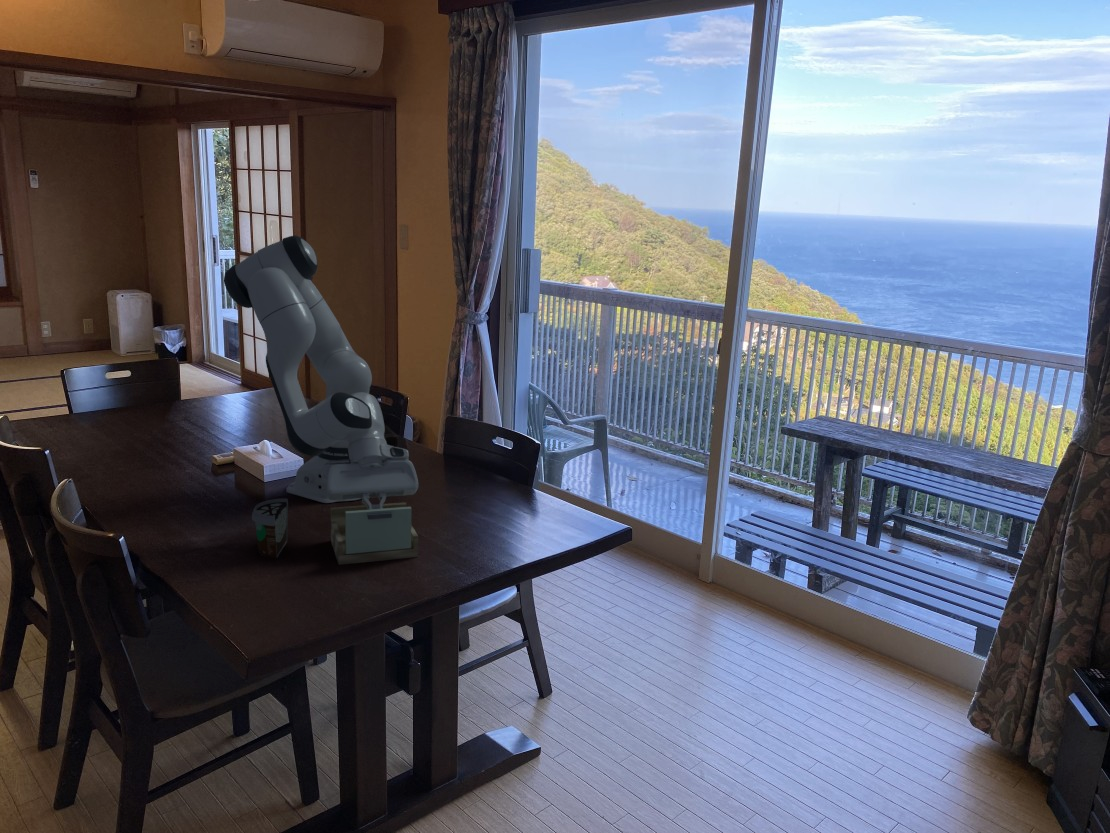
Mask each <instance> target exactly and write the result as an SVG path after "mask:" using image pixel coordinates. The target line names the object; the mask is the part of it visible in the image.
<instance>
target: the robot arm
mask: <svg viewBox="0 0 1110 833" xmlns="http://www.w3.org/2000/svg"><path fill="white" fill-rule="evenodd" d="M318 266H319V263H318V261H317V254H316V253H315V250H314V248H313V247H312V245H311V244H309V243H308V242H307V241H306V240H305V239H304V238H303V237H301V236H298V235H289V236H286V237H283V238H282V240H279V241H277V242H274V243H271V244H269V245H266V246H264V247H263V248H260V249H258V250H257V251H256V252H254V253H252V254H251V255H250V256H248V257H246V258H245V259H243V260H242V261H240V262H239V263H238V264H233V265H232V266H231V267H229V269H227V270H226V271H225V272H224V277H223V283H224V286H225V289H226V292H227V294H228V295H229V297H230V298H231V299H232V300H233V301H234V302H235V304H237V305H238V306H239V307H242V308H245V309H251V308H253V312H254V314H255V316H256V318H257V320H258V323H259V324H260V327H261V328H262V331H263V334H264V337H265V341H266V355H265V364H266V368H267V373H268V375H269V378H270V380H271V381H270V382H271V385H272V387H273V389H274V393H275V395H276V398H277V401H278V404H279V407H280V409H281V413H282V415H283V416H282V417H283V419H284V422H285V428H286V433H287V434H286V435H287V438H288V441H289V443H290V445H291V447H292V448H294V449H295V450H296V451H297V452H298V453H301V454H302V455H306V456H310V457H311V458H310V459H309V460H307V461H306V462H305V463H303V464H302V465H300V466H299V467H298V469H297V471H296V474H295V480H294V481H292V483H290V484H289V485H287V486H286V493H288V494H291V495H295V496H298V497H302V498H305V499H308V500H312V501H316V502H319V503H323V504H329V503H336V502H337V503H338V502H349V501H357V500H361V502H362V504H363V505H365V506H366V507H367V508H368V510H371V509H383V507H382V506H383V504H385V502H386V500H387V497H399V496H401V497H403V496H413V495H415V494H416V493H417V490H418V489H419V480H418V475H417V471H416V469H415V466H414V464H413V462H412V461H411V460H409V456H410V454H409V450H408V449H406V448H402V447H398V446H397V447H394V446H390V445H387V442H386V440H385V438H384V432H385V427H384V424H385V422H384V416H383V412H382V409H381V405H380V404H379V400H377V398H376V397H375V396H374V395H372V394H370V390H371V386H372V383H373V382H372V381H373V375H372V371H371V368H370V366H369V364H368V362H366V360H364V359H363V357H361V356H359V355H358V353H356V351H355V350H354V349H353V347H352V345H351V344H350V342H349V340H348V339H347V336H346V334H345V333H344V331H343V329H342V327H341V324H340V323H339V321H338V319H337V317H336V316H335V315H334V313H333V311H332V310H331V308H330V306H329V305H328V303H327V302H326V300H325V298H324V297H323V295H322V294H321V292H320V291H319V289H318V288H317V287H316V285H315V284H314V283H313V282H312V281H313V278H314V275H315V274H316V273H317V270H318ZM305 355H306V356H307V358H308V359H309V361H310V362H311V364H312V366H313V367H314V369H315V370H316V372H317V374H318V375H319V377H320V379H322V381H323V382H324V383H325V385H326V390H325V392H326V393H325V399H323V400H321V401H320V402H318V403H317V404H316V405H313V407H311V408H309V407H308V405H307V402H306V399H305V397H304V393H303V390H302V388H301V385H300V382H299V379H298V371H299V367H300V363H301V362H302V360H303V358H304V356H305ZM370 498H378V501H379V504H378V503H377V505H376V504H372V503H371V501H370Z"/></svg>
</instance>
